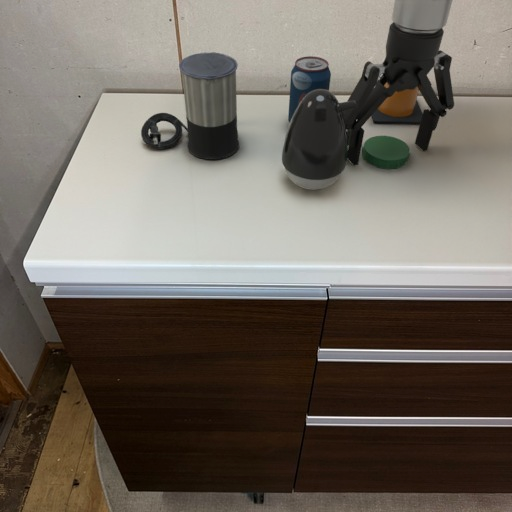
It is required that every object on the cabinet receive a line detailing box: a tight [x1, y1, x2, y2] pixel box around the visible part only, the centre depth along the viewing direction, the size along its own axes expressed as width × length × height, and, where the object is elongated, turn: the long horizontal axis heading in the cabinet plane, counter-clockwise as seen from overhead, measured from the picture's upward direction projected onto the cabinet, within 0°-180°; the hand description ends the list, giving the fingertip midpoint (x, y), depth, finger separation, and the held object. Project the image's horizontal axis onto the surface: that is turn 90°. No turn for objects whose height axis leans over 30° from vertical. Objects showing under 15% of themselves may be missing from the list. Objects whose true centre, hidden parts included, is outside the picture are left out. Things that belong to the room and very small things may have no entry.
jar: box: [378, 82, 420, 117], centre depth 89 cm, size 7×7×12 cm
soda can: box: [287, 55, 332, 124], centre depth 85 cm, size 7×7×12 cm
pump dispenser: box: [281, 89, 358, 190], centre depth 72 cm, size 10×10×15 cm
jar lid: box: [361, 135, 411, 170], centre depth 81 cm, size 8×8×2 cm
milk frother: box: [140, 51, 240, 160], centre depth 79 cm, size 14×16×15 cm
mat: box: [370, 99, 423, 125], centre depth 93 cm, size 10×10×1 cm
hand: (387, 154), depth 82 cm, fingers open, 13 cm apart
